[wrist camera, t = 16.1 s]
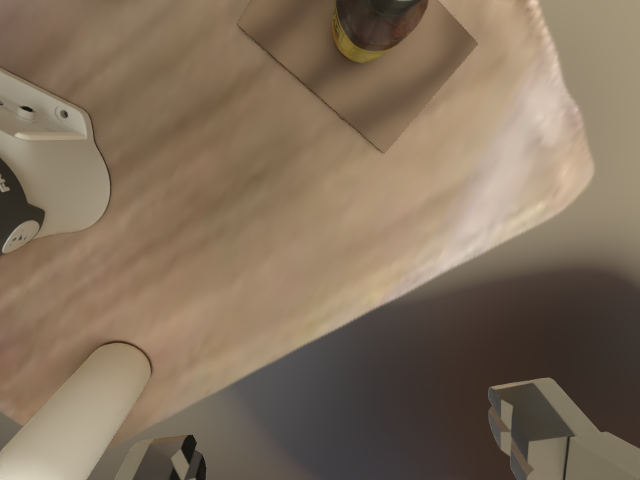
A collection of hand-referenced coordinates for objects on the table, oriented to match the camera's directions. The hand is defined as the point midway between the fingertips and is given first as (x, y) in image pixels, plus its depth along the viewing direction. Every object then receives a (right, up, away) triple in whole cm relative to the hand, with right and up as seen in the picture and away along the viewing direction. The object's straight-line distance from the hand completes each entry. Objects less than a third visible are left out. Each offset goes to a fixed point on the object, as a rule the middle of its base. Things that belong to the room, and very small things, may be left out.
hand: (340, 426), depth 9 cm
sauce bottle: (+4, +26, +25) cm, 36 cm away
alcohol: (-30, -13, +41) cm, 53 cm away
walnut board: (+3, +26, +26) cm, 37 cm away
